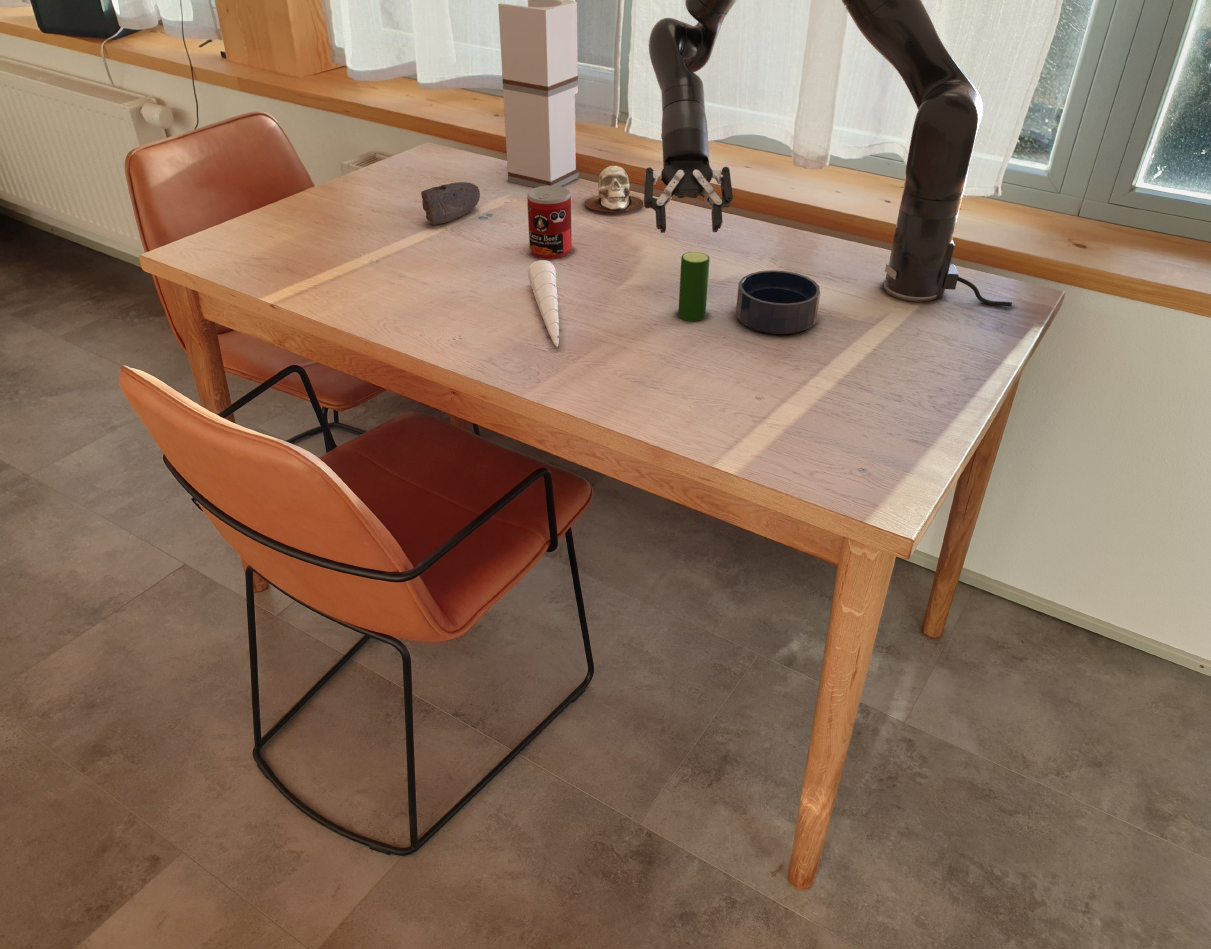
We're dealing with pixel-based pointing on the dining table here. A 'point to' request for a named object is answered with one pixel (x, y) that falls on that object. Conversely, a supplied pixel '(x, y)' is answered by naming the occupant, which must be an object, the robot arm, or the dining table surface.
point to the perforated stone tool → (449, 201)
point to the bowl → (777, 302)
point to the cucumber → (693, 286)
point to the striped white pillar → (540, 90)
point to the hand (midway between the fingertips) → (689, 230)
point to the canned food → (549, 221)
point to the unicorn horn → (546, 295)
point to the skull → (613, 192)
